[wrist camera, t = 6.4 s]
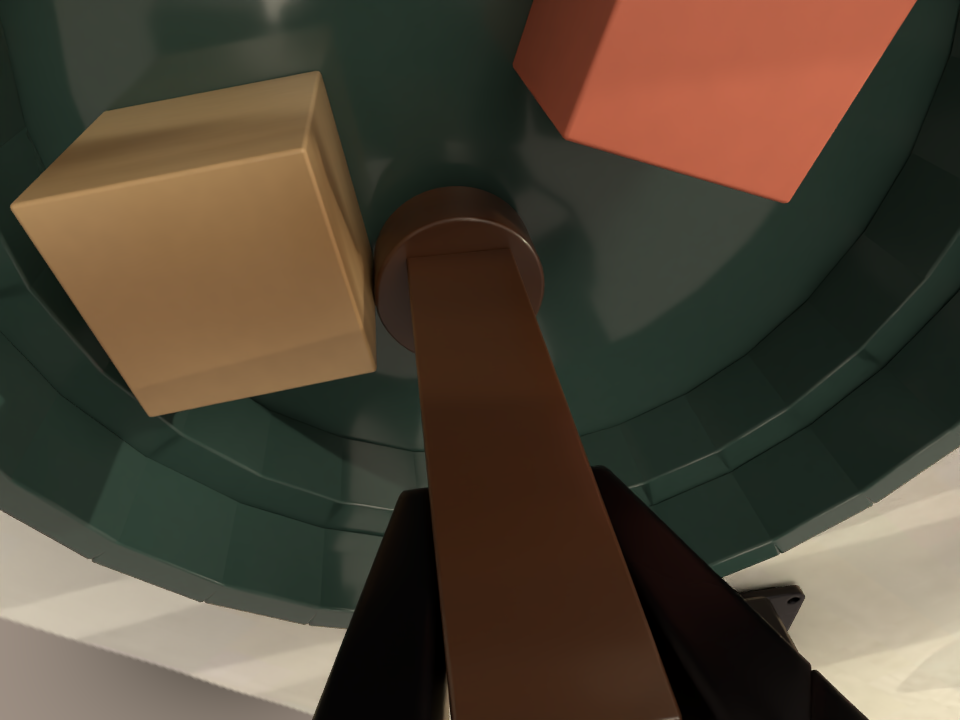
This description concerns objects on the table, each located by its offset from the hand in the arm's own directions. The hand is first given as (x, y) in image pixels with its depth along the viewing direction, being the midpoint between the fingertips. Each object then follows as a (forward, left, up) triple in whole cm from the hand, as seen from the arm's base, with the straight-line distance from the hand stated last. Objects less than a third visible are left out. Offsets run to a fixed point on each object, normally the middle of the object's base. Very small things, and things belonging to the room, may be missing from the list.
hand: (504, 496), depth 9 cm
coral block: (+5, -4, -7) cm, 9 cm away
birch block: (+2, +4, -7) cm, 8 cm away
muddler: (0, 0, -6) cm, 6 cm away
